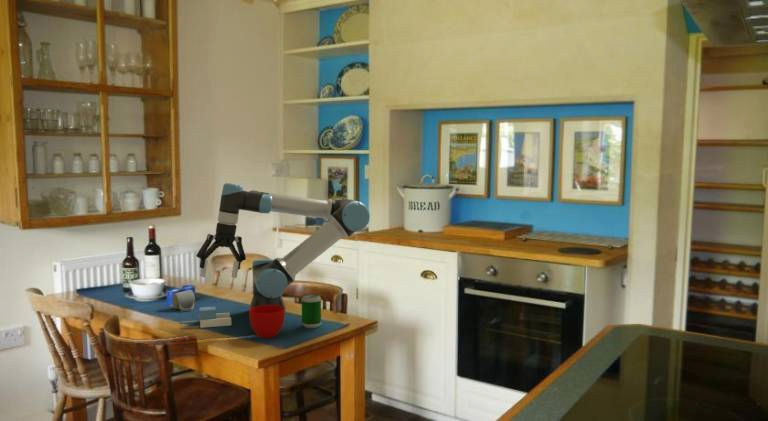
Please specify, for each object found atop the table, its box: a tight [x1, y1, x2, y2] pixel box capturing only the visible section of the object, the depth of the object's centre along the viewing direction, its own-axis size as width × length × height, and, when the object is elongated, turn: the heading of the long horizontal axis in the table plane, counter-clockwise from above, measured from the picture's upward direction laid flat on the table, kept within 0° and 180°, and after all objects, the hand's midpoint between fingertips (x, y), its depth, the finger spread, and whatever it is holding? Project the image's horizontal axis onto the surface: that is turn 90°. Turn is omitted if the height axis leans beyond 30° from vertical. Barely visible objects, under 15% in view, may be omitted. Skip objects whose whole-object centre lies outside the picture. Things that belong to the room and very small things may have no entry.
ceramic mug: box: [171, 289, 196, 313], centre depth 274 cm, size 11×8×8 cm
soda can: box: [301, 293, 322, 329], centre depth 246 cm, size 8×8×12 cm
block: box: [199, 306, 217, 321], centre depth 246 cm, size 6×6×6 cm
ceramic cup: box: [248, 305, 286, 339], centre depth 235 cm, size 13×17×10 cm
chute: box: [180, 312, 232, 330], centre depth 246 cm, size 18×10×4 cm, turn 107°
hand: (218, 277), depth 246 cm, fingers open, 13 cm apart
